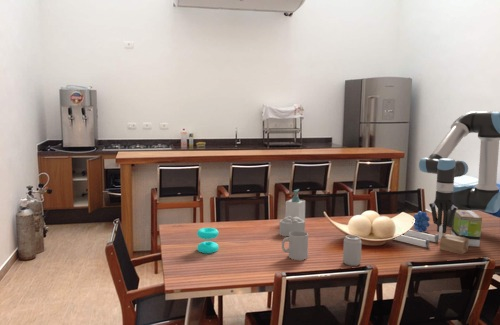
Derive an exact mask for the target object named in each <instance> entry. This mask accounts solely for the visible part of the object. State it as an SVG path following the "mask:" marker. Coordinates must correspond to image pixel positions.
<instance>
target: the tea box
mask: <svg viewBox="0 0 500 325" xmlns="http://www.w3.org/2000/svg"><path fill="white" fill-rule="evenodd" d="M482 224H483V217H482V216H481V215H479V214H478V213H476V212H475V210H472V209H471V210H457V211H456V212H455V215H454V218H453V220H452V226H451V231H450V232H451V233H450V235H455V236H459V237H464V238H468V239H469V244H468V247H480V243H481V232H482Z"/></svg>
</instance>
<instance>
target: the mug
mask: <svg viewBox="0 0 500 325" xmlns="http://www.w3.org/2000/svg"><path fill="white" fill-rule="evenodd" d="M286 242H288V248H285V243H286ZM308 249H309V233H308V232H306V231H305V232H304V231H292V232H290V233H289V237H284V238H283V239H282V241H281V250H282V251H283V253H287V254H288V257H289V259H290V258H291V259H290V260H293V259H294V260H293V261H305V260H307V259H308V257H309V254H308V253H309V251H308ZM304 259H305V260H304Z"/></svg>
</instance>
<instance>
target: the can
mask: <svg viewBox="0 0 500 325" xmlns="http://www.w3.org/2000/svg"><path fill="white" fill-rule="evenodd" d="M362 244H363V243H362V240H361V237H360V236H358V235H356V234H354V235H353V234H349V235H345V237H344V239H343V249H342V250H343V251H342V262H343V263H344V264H345V265H346V266H349V267H357V266H359V265H360V264H361V263H362Z"/></svg>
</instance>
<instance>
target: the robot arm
mask: <svg viewBox="0 0 500 325" xmlns="http://www.w3.org/2000/svg"><path fill="white" fill-rule="evenodd" d="M471 133H472V134H473V133H475V134H476V133H477V137H478V139H479V140H480V148H479V164H478V182H477V183H476V185H473V184H465V183H464V184H462V183H460V184H459V183H458V184H455V178H459V177H463V176H465V175H466V174H467V173H468V172H469V166H468V163H466V162H465V161H464V160H456V159H453V158H449V157H450V156H451V154H452V153H453V151H454V150H455V148H456V147H457V146H458V145H459V144H460V142H461V141H462V140H463V138H465V137H467V136H468V135H469V134H471ZM499 150H500V111H496V110H495V111H493V110H492V111H488V110H487V111H485V110H484V111H483V110H481V111H480V110H472V111H469V112H466V113H464V114H462V115H461V116H459V117H457V119H455V120H454V121H453V123H452V124H451V125H450V129H449V131H448V132H447V133H446V135H445V136H444V137H443V139H442V140H441V141H440V142H439V144H438V145H437V146H436V147H435V149H434V150H433V151H432V152H431V154H430V155H428V156H429V157H421V159H420V160H419V163H418V168H419V171H420V172H422V173H427V174H434V175H436V184H435V189H436V191H435V198H434V201H433V202H431V203H429V204H428V205H429V207H430V210H431V215H432V221H433V224H434V225H436V226H437V227H436V231H437V233H438V234H439V237H438V240H441V237H442V236H444V235H445V234H447V228H448V227H452V220H453V218H454V215H455V212H456V211H457V210H471V211H472V210H473V211H479V212H485V213H490V214H495V213H497V212H498V211H500V186H498V185H497V179H498V178H497V177H498V167H499V152H500V151H499ZM436 208H437V209H436Z"/></svg>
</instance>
